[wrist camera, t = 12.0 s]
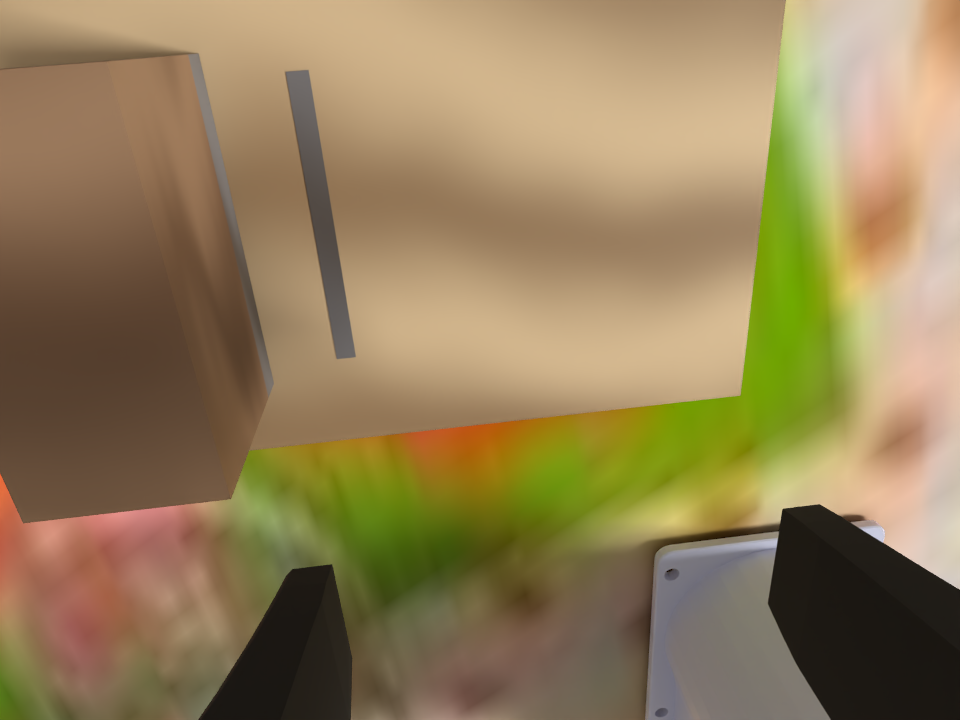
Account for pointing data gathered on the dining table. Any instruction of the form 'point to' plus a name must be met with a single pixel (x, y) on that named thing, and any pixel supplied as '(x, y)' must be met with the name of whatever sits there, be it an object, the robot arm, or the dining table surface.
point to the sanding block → (121, 293)
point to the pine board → (472, 193)
